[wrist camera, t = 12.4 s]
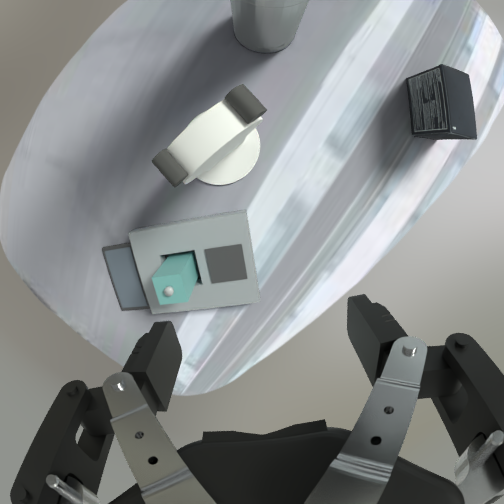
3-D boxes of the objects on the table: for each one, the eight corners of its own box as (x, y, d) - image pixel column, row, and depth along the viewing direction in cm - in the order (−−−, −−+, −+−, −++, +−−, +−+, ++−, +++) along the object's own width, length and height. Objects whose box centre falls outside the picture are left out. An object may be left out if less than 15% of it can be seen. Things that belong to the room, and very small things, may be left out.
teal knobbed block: (169, 254, 42) (150, 279, 33) (193, 250, 42) (179, 275, 33) (175, 277, 44) (158, 307, 35) (199, 274, 44) (187, 304, 34)
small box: (439, 140, 36) (479, 141, 27) (411, 136, 37) (449, 134, 27) (434, 84, 33) (471, 74, 23) (405, 77, 33) (440, 62, 23)
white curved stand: (228, 90, 35) (217, 54, 21) (279, 147, 38) (297, 141, 23) (166, 144, 37) (123, 138, 23) (215, 200, 40) (197, 223, 26)
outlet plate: (134, 229, 41) (127, 233, 39) (246, 209, 41) (246, 213, 38) (156, 306, 46) (152, 314, 43) (259, 294, 45) (260, 302, 42)
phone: (124, 307, 47) (121, 310, 46) (104, 246, 43) (101, 248, 42) (152, 305, 46) (150, 308, 45) (133, 241, 43) (131, 243, 41)
